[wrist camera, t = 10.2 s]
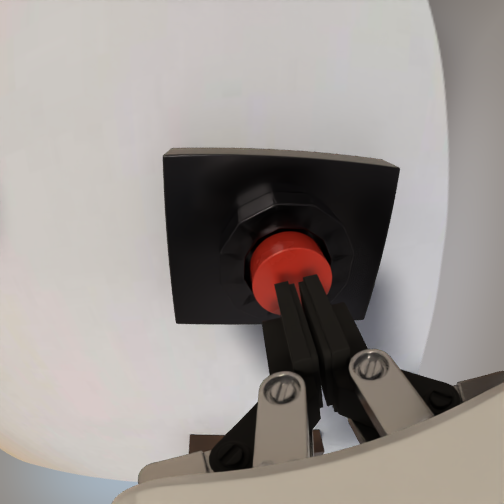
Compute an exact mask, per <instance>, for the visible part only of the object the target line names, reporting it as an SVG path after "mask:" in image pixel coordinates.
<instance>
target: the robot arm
mask: <svg viewBox="0 0 504 504" xmlns="http://www.w3.org/2000/svg"><path fill="white" fill-rule="evenodd" d="M298 285H299V291H300V297H301V302H300V299H299V296H298V293H297V290H296V287H295V284H294V283H293V284H289V283H288V281H285V282H281V283H276V284H274V286H275V291H276V296H277V300H278V305H279V309H280V314H281V317H280V318H275V319H271V320H266V321H262V327H263V334H264V340H265V347H266V354H267V360H268V367H269V373H270V375H269V376H268V377H267V378H266V379H264V380H263V382H262V383H261V385H260V388H259V394H258V402H257V403H256V404H255V405H254V406H253V408H252V409H251V410H250V411H249V412H248V413H247V414H246V415H245V416H244V417H243V418H242V419H241V420H240V421H239V422H238V423H237V424H236V425H235V426H234V427H233V428H232V429H231V430H230V431H229V432H228V433H227V434H226V435H225V436H224V437H223V438H222V439H221V440H220V441H219V442H218V443H217V444H216V445H215V446H214V447H213V449H212V450H210V451H206V452H202V451H198V452H194V453H191V454H187V455H183V456H179V457H175V458H171V459H167V460H163V461H159V462H154V463H151V464H148V465H146V466H145V467H144V468H143V469H141V471H140V473H139V475H138V485H136V486H133V487H131V488H129V489H127V490H125V491H123V492H122V493H121V494H119V495H118V496H117V497H116V498H115V499H114V501H113V502H112V504H504V371H499V372H495V373H492V374H488V375H485V376H481V377H477V378H473V379H469V380H464V381H460V382H457V385H454V386H452V385H449V384H447V383H444V382H441V381H437V380H434V379H430V378H427V377H424V376H420V375H417V374H414V373H411V372H407V371H404V370H401V369H400V368H399V367H398V366H397V365H396V363H395V362H394V361H393V359H392V358H391V357H390V356H389V355H388V354H387V353H386V352H384V351H382V350H378V349H368V348H367V346H366V344H365V342H364V340H363V338H362V336H361V334H360V332H359V330H358V328H357V326H356V324H355V322H354V320H353V318H352V316H351V314H350V312H349V310H348V308H347V306H346V304H345V303H344V302H341V303H337V304H333V305H331V303H330V301H329V299H328V297H327V295H326V292H325V290H324V288H323V286H322V284H321V282H320V279H319V277H318V275H317V274H315V275H310V276H306V277H303V281H301V282H298ZM301 303H302V305H301ZM321 386H322V390H323V393H324V397H325V400H326V403H327V406H330V405H333V408H334V411H335V412H338V414H340V415H342V416H345V417H347V418H348V422H349V424H350V426H351V428H352V430H353V431H354V433H355V435H356V437H357V439H358V441H359V443H360V445H356V446H353V447H350V448H346V449H342V450H339V451H335V452H331V453H327V454H323V455H319V456H315V457H314V445H313V428H314V427H315V426H316V424H317V423H318V422H319V420H320V419H321V416H320V408H322V407H323V401H322V390H321Z"/></svg>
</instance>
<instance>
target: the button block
mask: <svg viewBox="0 0 504 504" xmlns="http://www.w3.org/2000/svg"><path fill="white" fill-rule="evenodd" d="M399 171H400V168H399V167H397V166H395V165H393V164H391V163H389V162H386V161H384V160H382V159H375V158H367V157H359V156H351V155H341V154H331V153H320V152H308V151H294V150H278V149H255V148H171V149H170V150H169V151H168V152H166V153H165V154H164V155H163V178H164V200H165V217H166V231H167V244H168V256H169V267H170V277H171V286H172V295H173V304H174V312H175V320H176V323H177V324H262V321H266V320H271V319H275V318H280V317H281V315H277V314H274V313H271V312H269V311H267V310H266V309H264V308H263V307H262V306H261V305H260V304H259V303H258V302H257V300H256V298H255V296H254V294H253V289H252V281H251V273H250V261H251V257H252V255H253V253H254V251H255V249H256V248H257V247H258V245H259V244H260V243H261V242H262V241H264V240H265V239H266V238H268V237H270V236H272V235H274V234H277V233H280V232H287V231H292V232H299V233H302V234H305V235H307V236H309V237H310V238H312V239H313V240H314V241H315V242H316V243H317V244H318V246H319V247H320V249H321V251H322V253H323V254H324V256H325V258H326V260H327V262H328V263H329V265H330V268H331V271H332V283H331V287H330V290H329V292H328V294H327V297H328V299H329V301H330V303H331V305H333V304H337V303H341V302H344V303H345V304H346V306H347V308H348V310H349V312H350V314H351V316H352V318H353V320H363V319H364V318H365V314H366V311H367V308H368V305H369V301H370V298H371V295H372V291H373V288H374V284H375V280H376V277H377V273H378V269H379V266H380V262H381V258H382V254H383V250H384V246H385V241H386V237H387V233H388V228H389V224H390V219H391V214H392V210H393V205H394V199H395V194H396V189H397V183H398V177H399Z"/></svg>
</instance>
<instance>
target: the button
mask: <svg viewBox="0 0 504 504" xmlns="http://www.w3.org/2000/svg"><path fill="white" fill-rule="evenodd" d="M250 273H251V281H252V289H253V294H254V296H255V298H256V300H257V302H258V303H259V304H260V305H261V306H262V307H263V308H264V309H266V310H267V311H269V312H271V313H274V314H277V315H281V314H280V309H279V305H278V300H277V296H276V291H275V286H274V284H276V283H281V282H285V281H288V283H289V284H293V283H294V284H295V287H296V290H297V293H298V296H299V299H300V302H301V297H300V291H299V285H298V282H301V281H303V277H306V276H310V275H315V274H317V275H318V277H319V279H320V282H321V284H322V286H323V288H324V290H325V292H326V295H327V294H328V292H329V290H330V287H331V283H332V271H331V268H330V265H329V263H328V262H327V260H326V258H325V256H324V254H323V253H322V251H321V249H320V247H319V246H318V244H317V243H316V242H315V241H314V240H313V239H312V238H310V237H309V236H307V235H305V234H302V233H299V232H292V231H287V232H280V233H277V234H274V235H272V236H270V237H268V238H266V239H265V240H264V241H262V242H261V243H260V244H259V245H258V247H257V248H256V249H255V251H254V253H253V255H252V257H251V261H250ZM301 305H302V303H301Z"/></svg>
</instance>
